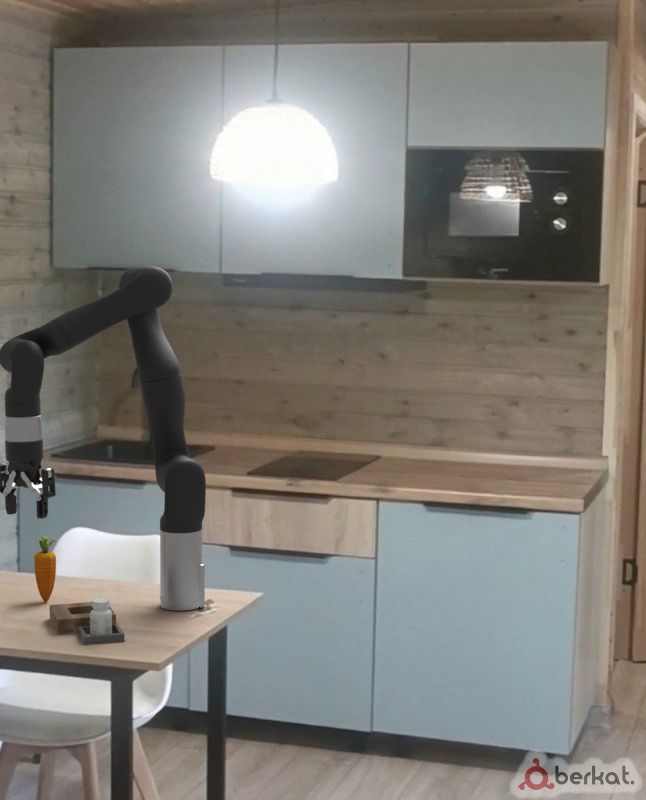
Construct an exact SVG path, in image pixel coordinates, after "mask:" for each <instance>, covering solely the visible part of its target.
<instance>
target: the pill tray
mask: <svg viewBox="0 0 646 800" xmlns="http://www.w3.org/2000/svg"><path fill="white" fill-rule="evenodd" d="M113 632H114V633H113ZM77 634H78V636H79V638H80V639H81V642H82V643H83V645H85V646H87V645H98V644H109V643H120V642H121V643H122V642H125V633H124V631H123V630H122V628H121V627H120V625H119V624H118V623H116V624H112V634H107V635H95V636H90V626H80V627H78V633H77Z"/></svg>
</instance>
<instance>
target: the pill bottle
mask: <svg viewBox="0 0 646 800" xmlns="http://www.w3.org/2000/svg"><path fill="white" fill-rule="evenodd" d="M91 602H92V608H93V610H92V611H91V612H90V634H89V636H95V635H107V634H113V632H112V612H111V610H109V609H108V608H109V606H110V599H109V598H100V597H99V598H95V599H92V601H91ZM110 607H111V606H110Z"/></svg>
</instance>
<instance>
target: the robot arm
mask: <svg viewBox="0 0 646 800" xmlns="http://www.w3.org/2000/svg"><path fill="white" fill-rule="evenodd" d="M172 280H173V279H172V278H171V276H170V274H169V273H168V272H167V271H166V270H164V269H163V268H160V267H156V266H155V265H145V266H132V267H129V268H128V269H125V271H124V272H123V273H122V274H121V276H120V279H119V283H118V289H117V290H115V291H113V292H111V293H110V294H107V295H105V296H102V297H101V298H99V299H96V300H94V301H91V302H88V303H85V304H82V305H80V306H77V307H75V308H72V309H71V310H69V311H66V312H63V314H61V315H58V316H57V317H55V318H53V319H52V320H50V321H48V322H47V323H45V324H43V325H41V326H38V327H36V328H33V329H31V330H28V331H26V332H23V333H21V334H18V335H17V336H14V337H11V338H10V339H9V340H7V341H5V342H4V344H2V346H1V347H0V366H1V367H2V368H3V370H4V371H7V372H9V373H11V374H10V375H11V376H10V387H9V388H7V389H6V391H5V394H4V409H5V410H4V411H5V419H4V449H5V460H6V461H7V462H3V463H0V493H1V494H2V495H3V497H4V501H5V502H4V504H5V505H4V506H5V507H4V508H5V511H6V514H7V515H9V516H12V515H14V514H17V512H18V509H17V495H16V493H17V491H18V489H20V487H22V488H25V489H29V491H30V492H31V493H33V495H34V497H35V499H36V501H35V502H36V505H35V506H36V518H37V519H39V520H40V519H46V518H47V516H48V514H49V505H48V503H49V502H48V501H49V499H50V498H54V497H55V496H56V494H57V493H56V481H55V468H54V467H52V466H51V467H46V468H44V467H42V460H44V438H43V437H44V435H43V431H44V430H43V423H42V415H41V396H40V395H41V389H42V385H43V379H44V371H45V359H46V358H48V357H49V358H50V357H54V356H59V355H60V356H61V355H62V354H64V353H67V352H68V351H71V350H72V349H73V348H75V347H77V346H79V345H81V344H83V343H84V342H86V341H87V340H90V339H91V338H93V337H95V336H97V335H98V334H100V333H102V332H103V331H105V330H107V329H109V328H111V327H113V326H115V325H117V324H118V323H121V322H123V321H127V325H128V328H129V332H130V337H131V342H132V347H133V353H134V359H135V363H136V368H137V374H138V381H139V385H140V391H141V396H142V400H143V401H142V402H143V405H144V409H145V414H146V418H147V422H148V427H149V430H150V435H151V438H152V447H153V448H152V449H153V456H154V457H153V458H154V468H155V469H154V470H155V472H154V473H155V479H156V482H157V485H158V487H159V488H160V490H161V491H162V492H163V493H164V506H163V507H164V510H163V514H162V515H161V516H160V518H159V541H160V542H159V555H160V556H159V567H160V568H159V570H160V571H159V573H160V574H159V575H160V576H159V578H160V581H159V584H160V585H159V587H160V588H159V591H160V593H159V603H160V604H159V605H160V607H161V608H162V609H164V610H169V611H179V612H180V611H191V610H196V609H199V607H200V608H205V607H204V606H206V603H205V602H206V599H205V598H206V595H205V594H206V593H205V591H206V584H205V580H206V578H205V575H206V574H205V573H206V572H205V571H206V569H205V566H206V565H205V564H204V563H203V521H204V518H205V515H206V514H205V513H206V498H207V495H206V494H207V493H206V492H207V487H206V486H207V482H206V473H205V471H204V469H203V467H202V465H201V464H200V463H198V462H197V461H196V460H194V459H192V457H191V455H190V452H189V449H188V444H187V441H186V437H185V427H184V425H185V424H184V423H185V422H184V421H185V414H186V413H185V410H186V393H185V392H186V391H185V385H184V380H183V374H182V370H181V365H180V363H179V360H178V358H177V356H176V354H175V352H174V350H173V348H172V347H171V344H170V343H169V341H168V339H167V337H166V335H165V333H164V331H163V327H162V324H161V319H160V313H159V308H161V307H163V306H164V305H166V303H168V301H169V300H170V299H171V296H172V293H173V290H174V289H173V281H172Z"/></svg>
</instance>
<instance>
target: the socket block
mask: <svg viewBox="0 0 646 800" xmlns="http://www.w3.org/2000/svg"><path fill="white" fill-rule="evenodd" d="M108 609H109V610H111V612H112V624H117V615H116V613H115V611H114V610H113V608H112V607H111V606H109V608H108ZM92 610H93V608H92V601H85V602H71V603H60V604H58V603H57V604H49V621H50V622H51V624H52V626H53V629H54V630H55V632H56V633H57V635H65V634H78V627H80V626H90V612H91V611H92Z"/></svg>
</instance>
